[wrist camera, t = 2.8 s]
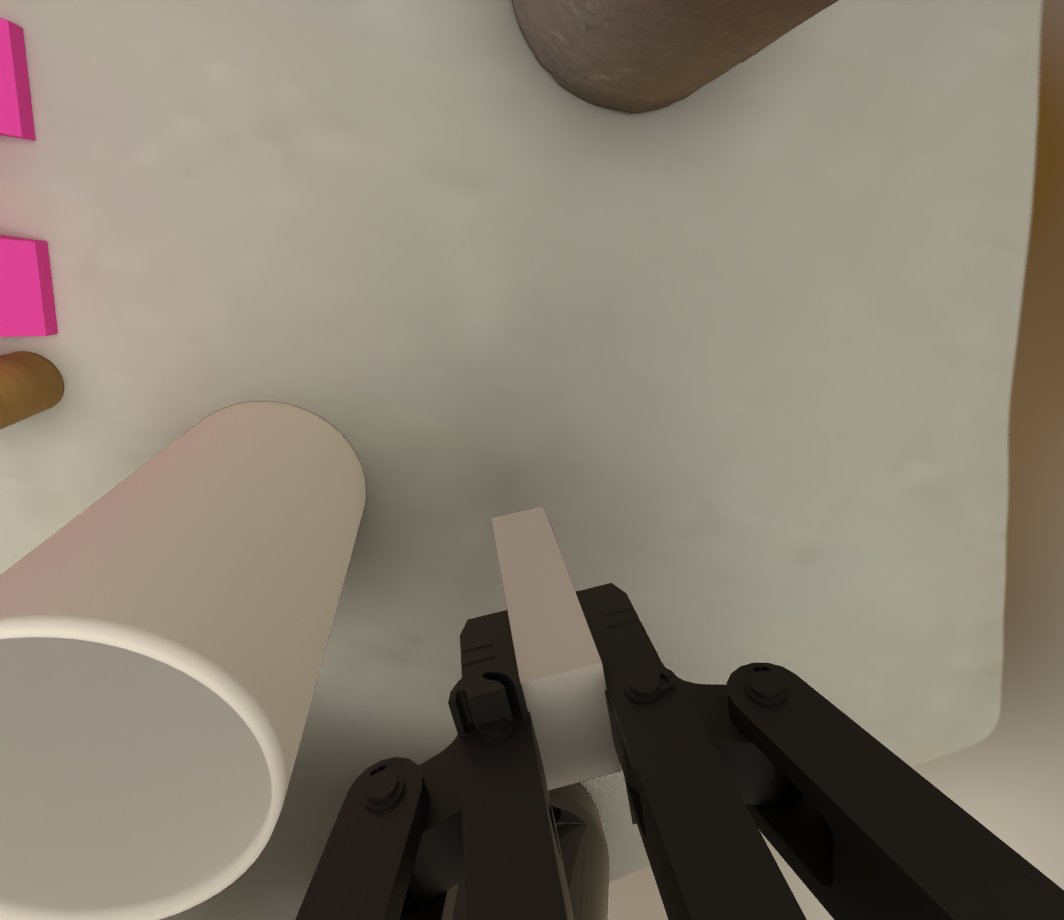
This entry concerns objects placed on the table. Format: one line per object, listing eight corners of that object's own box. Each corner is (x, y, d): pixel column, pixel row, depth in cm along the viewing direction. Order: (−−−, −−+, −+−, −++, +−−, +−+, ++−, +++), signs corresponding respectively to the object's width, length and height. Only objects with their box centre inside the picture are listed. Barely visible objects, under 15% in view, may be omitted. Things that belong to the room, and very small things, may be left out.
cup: (143, 521, 26) (-233, 881, 12) (221, 365, 25) (-106, 554, 10) (316, 594, 29) (189, 966, 14) (398, 457, 27) (351, 719, 12)
